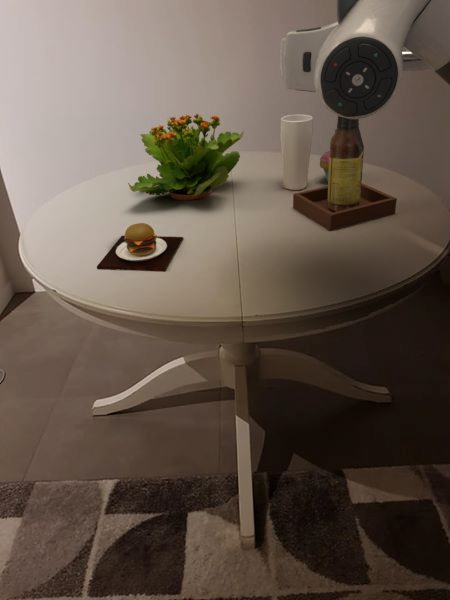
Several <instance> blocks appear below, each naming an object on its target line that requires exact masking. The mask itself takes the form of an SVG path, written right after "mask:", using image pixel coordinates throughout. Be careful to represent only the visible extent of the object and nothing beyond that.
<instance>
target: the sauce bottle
mask: <svg viewBox="0 0 450 600" xmlns="http://www.w3.org/2000/svg"><path fill="white" fill-rule="evenodd" d="M359 121H360V119H347V118H343V117H340V116H337V123H336V128H335V129H336V132H335V131H334V132H335V134H334V133H333V135H332V136H331V139H330V142H329V151H330V155H329V176H328V182H327V186H328V207H329V209H330V210H332V211H334V212H337V211H341V210H345V209H349V208H353V207H357V206H359V201H360V196H361V183H363V182H362V181H363V167H364V153H365V145H364V141H363V138H362V133H361V131H360V130H361V129H360V123H359Z"/></svg>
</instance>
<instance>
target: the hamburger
mask: <svg viewBox="0 0 450 600" xmlns="http://www.w3.org/2000/svg"><path fill="white" fill-rule="evenodd" d="M183 241H184V236H159V235H158V236H157V234H156V233H155V230H154V229H153V227H152V226H151V225H150V224H148V223H146V222H145V223H144V222H137V223H134V224H131V225H129V226H128V227H126V230H125V231H124V235H121V236H120V237H119V239H118V240H116V242H115V243H114V244H113V246H112V247H111V248H110V249H109V250H108V252H107V253H106V254H105V255H104V257H103V258H102V259H101V260H100V262H99V263H98V264H97V265H96V269H97V270H116V269H120V270H121V271H122V269H123V271H145V272H146V271H147V272H166V271H167V269H168V268H169V266H170V264H171V263H172V261H173V259H174V257H175V255H176V253H177V252H178V250H179V248H180V246H181V244H182V243H183ZM120 270H119V271H120Z"/></svg>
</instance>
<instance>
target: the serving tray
mask: <svg viewBox="0 0 450 600" xmlns="http://www.w3.org/2000/svg"><path fill="white" fill-rule="evenodd" d="M397 201H398V198H397V197H395V196H392V195H391V194H388V193H385V192H384V191H381V190H379V189H376V188H374V187H371V186H369V185H367V184H364V183H363V182H361V196H360V201H359V206H357V207H353V208H349V209H345V210H341V211H337V212H334V211H332V210H330V209H329V207H328V185H325V186H320V187H318V188H317V187H316V188H312V189H310V190H304V191H300V192H296V193H293V194H292V209H294V210H295V211H296V212H299V214H302V215H303V216H305V217H306V218H308V219H310V220H312V221H313V222H315V223H316V224H318V225H320V226H321V227H323V228H325V229H326V230H328V231H330V232H331V231H335V230H339V229H342V228H346V227H351V226H353V225H358V224H362V223H365V222H368V221H373V220H376V219H380V218H383V217H387V216H391V215H392V216H393V215H395V214H396V208H397Z"/></svg>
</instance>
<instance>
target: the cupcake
mask: <svg viewBox="0 0 450 600" xmlns="http://www.w3.org/2000/svg"><path fill="white" fill-rule="evenodd" d="M336 129H337V128H334V132H333V135H334V134H335V132H336ZM329 155H330V150H328V151H325V152H324V153H323V154H322V155H321V156H320V158H319V167H320V168H321V169H323V172H324V175H325V178H326V182H327V183H328V176H329Z"/></svg>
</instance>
